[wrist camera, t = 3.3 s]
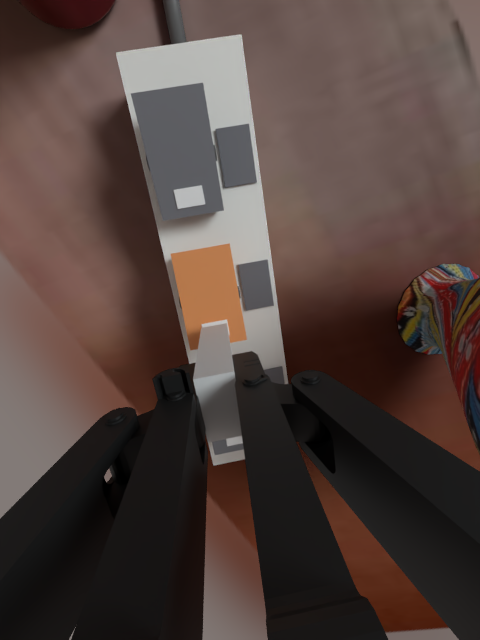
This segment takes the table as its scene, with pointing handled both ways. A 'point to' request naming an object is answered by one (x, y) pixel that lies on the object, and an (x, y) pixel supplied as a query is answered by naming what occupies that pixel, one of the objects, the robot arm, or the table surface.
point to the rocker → (179, 150)
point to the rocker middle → (208, 292)
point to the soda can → (69, 11)
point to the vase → (448, 329)
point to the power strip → (234, 177)
